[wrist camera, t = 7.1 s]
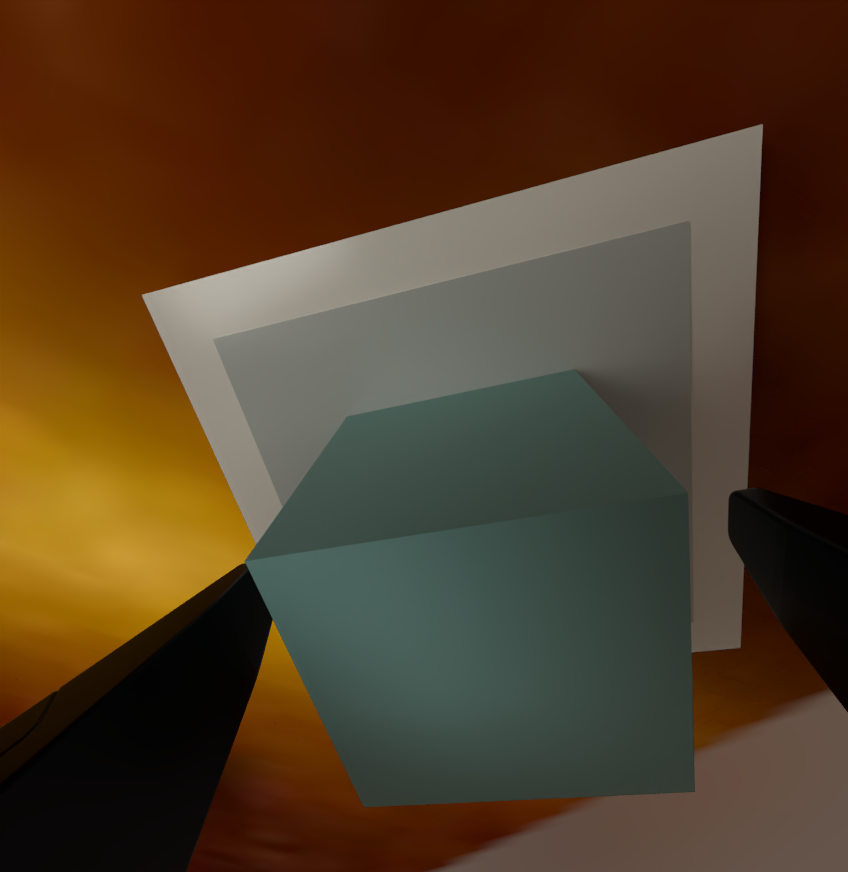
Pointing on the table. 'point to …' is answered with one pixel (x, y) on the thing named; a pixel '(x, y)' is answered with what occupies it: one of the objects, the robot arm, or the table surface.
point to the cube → (490, 599)
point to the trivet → (505, 332)
